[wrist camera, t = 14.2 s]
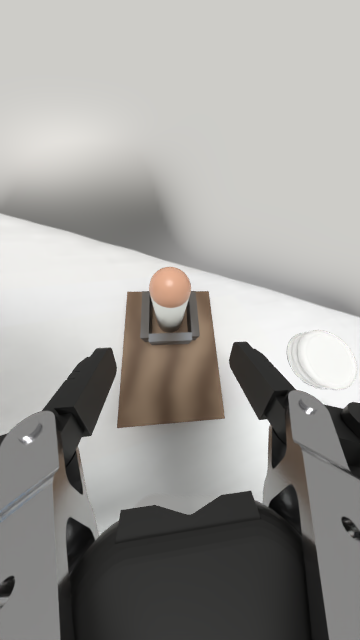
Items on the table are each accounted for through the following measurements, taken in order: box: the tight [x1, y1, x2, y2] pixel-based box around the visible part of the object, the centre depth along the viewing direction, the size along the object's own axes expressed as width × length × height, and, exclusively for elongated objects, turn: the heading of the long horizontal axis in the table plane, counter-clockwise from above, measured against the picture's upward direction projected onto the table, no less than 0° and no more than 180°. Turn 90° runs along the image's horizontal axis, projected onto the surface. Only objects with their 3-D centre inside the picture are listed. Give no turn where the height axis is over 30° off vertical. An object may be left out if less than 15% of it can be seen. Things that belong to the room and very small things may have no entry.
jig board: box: [117, 291, 225, 428], centre depth 22 cm, size 16×22×5 cm
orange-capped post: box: [149, 267, 191, 333], centre depth 19 cm, size 4×4×13 cm
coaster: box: [287, 330, 357, 390], centre depth 24 cm, size 10×10×4 cm
